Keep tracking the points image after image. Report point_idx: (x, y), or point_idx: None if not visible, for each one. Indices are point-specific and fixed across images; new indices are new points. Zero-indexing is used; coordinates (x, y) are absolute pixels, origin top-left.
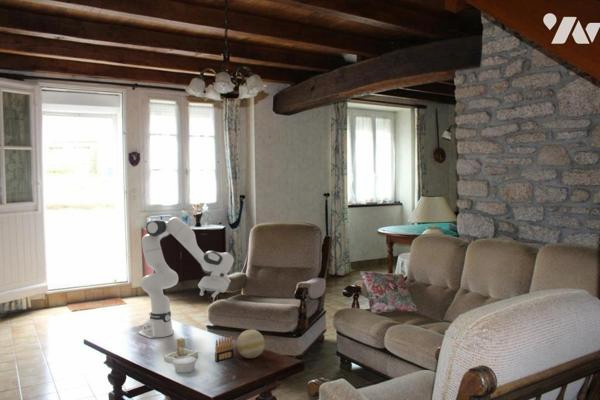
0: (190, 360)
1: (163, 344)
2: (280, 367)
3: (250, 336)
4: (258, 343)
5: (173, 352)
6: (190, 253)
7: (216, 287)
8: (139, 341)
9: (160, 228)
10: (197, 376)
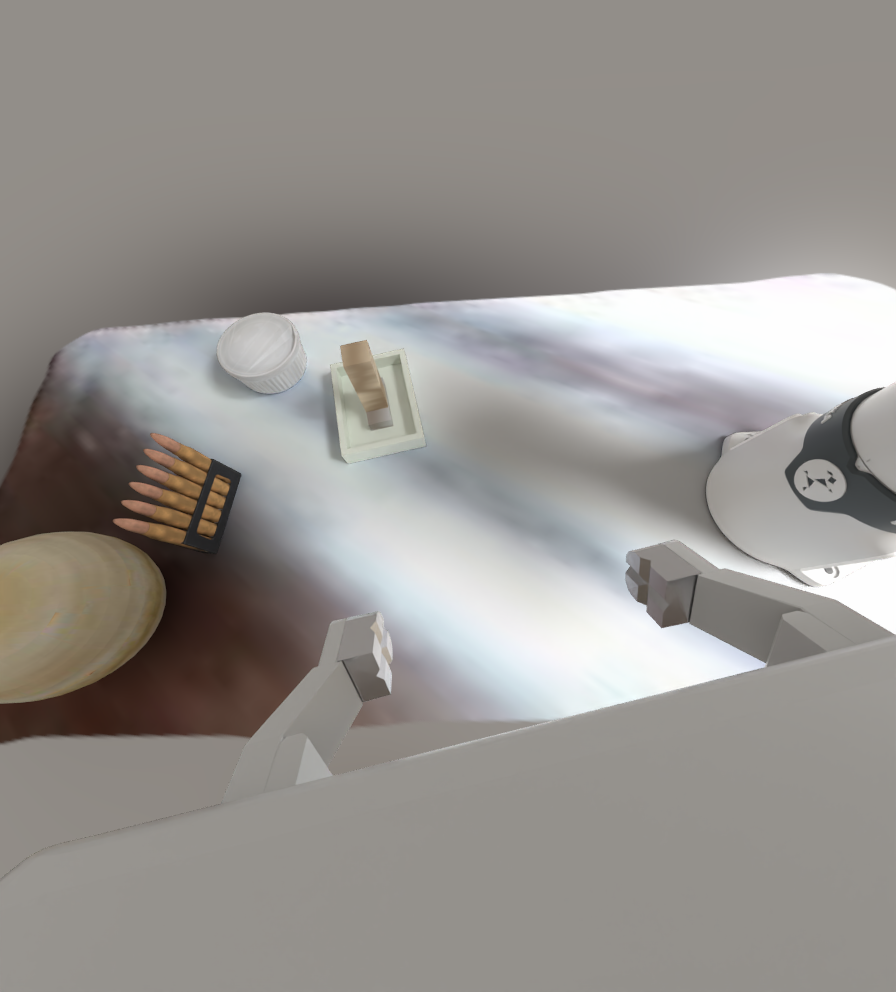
0: (231, 352)
1: (592, 439)
2: None
3: None
4: None
5: (412, 387)
6: None
7: (242, 844)
8: (704, 390)
9: None
10: (199, 369)
